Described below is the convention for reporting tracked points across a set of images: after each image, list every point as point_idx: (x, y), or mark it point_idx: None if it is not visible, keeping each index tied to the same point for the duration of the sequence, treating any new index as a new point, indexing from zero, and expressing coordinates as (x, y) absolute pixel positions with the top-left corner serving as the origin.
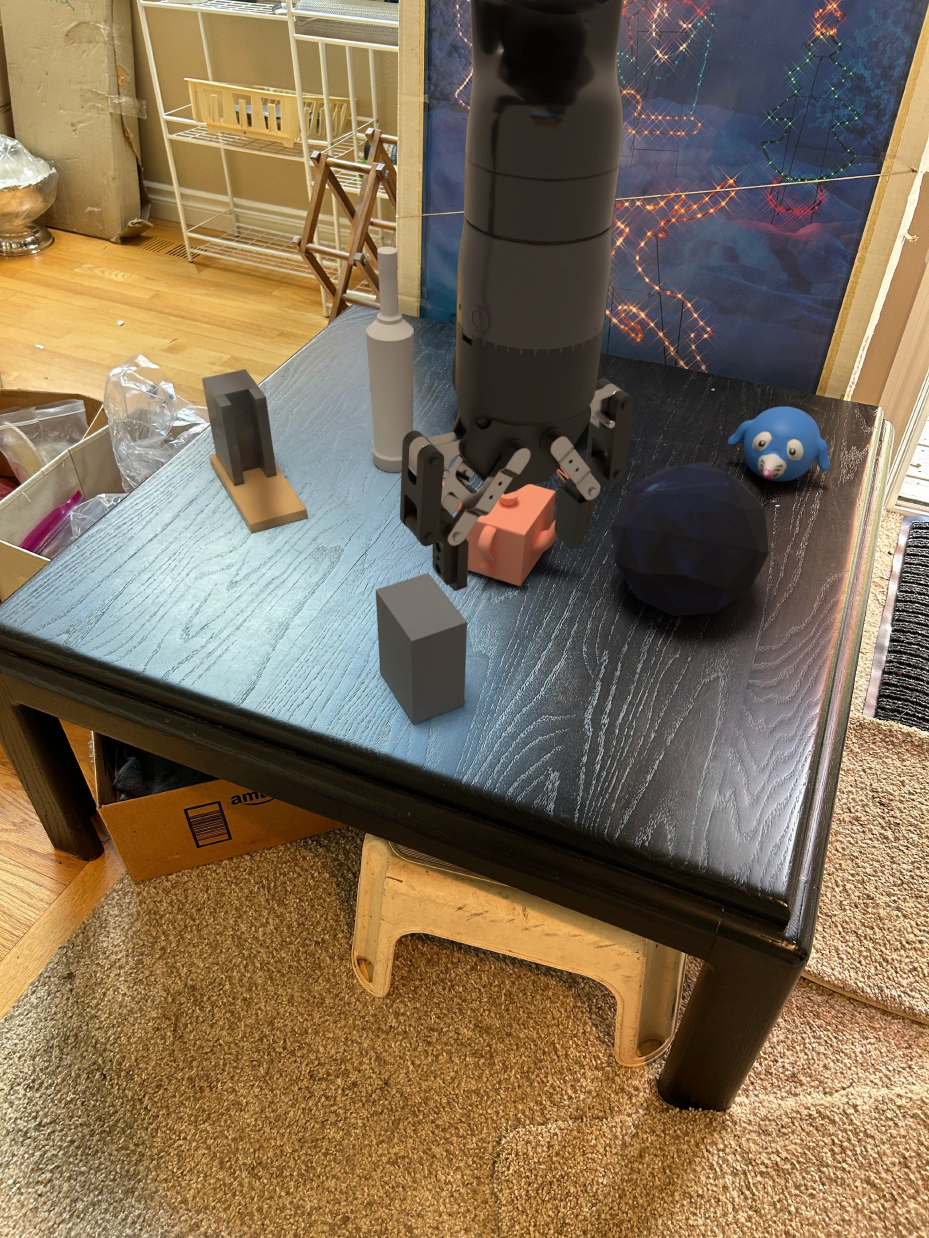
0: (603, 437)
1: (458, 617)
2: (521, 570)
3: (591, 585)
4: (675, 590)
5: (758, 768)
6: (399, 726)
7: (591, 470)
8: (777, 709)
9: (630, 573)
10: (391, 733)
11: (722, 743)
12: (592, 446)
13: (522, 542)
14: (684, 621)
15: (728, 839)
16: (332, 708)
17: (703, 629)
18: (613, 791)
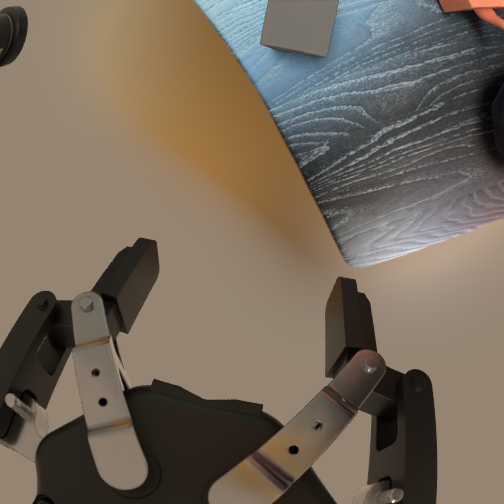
0: (380, 462)
1: (323, 46)
2: (452, 10)
3: (485, 57)
4: (502, 148)
5: (417, 230)
6: None
7: (366, 405)
8: (462, 216)
9: (500, 104)
10: (253, 45)
11: (422, 206)
12: (398, 420)
13: (466, 6)
14: None
15: (362, 243)
16: (228, 3)
17: None
18: (344, 182)
